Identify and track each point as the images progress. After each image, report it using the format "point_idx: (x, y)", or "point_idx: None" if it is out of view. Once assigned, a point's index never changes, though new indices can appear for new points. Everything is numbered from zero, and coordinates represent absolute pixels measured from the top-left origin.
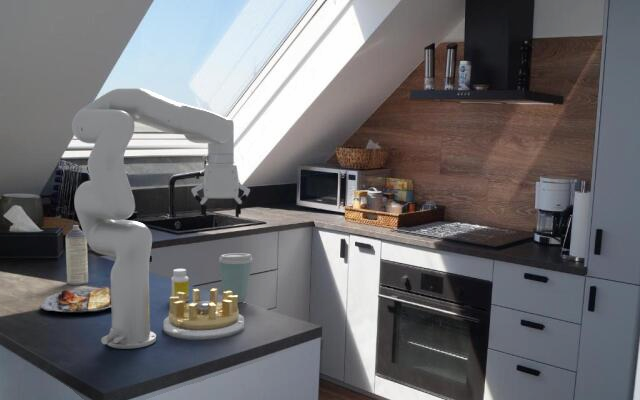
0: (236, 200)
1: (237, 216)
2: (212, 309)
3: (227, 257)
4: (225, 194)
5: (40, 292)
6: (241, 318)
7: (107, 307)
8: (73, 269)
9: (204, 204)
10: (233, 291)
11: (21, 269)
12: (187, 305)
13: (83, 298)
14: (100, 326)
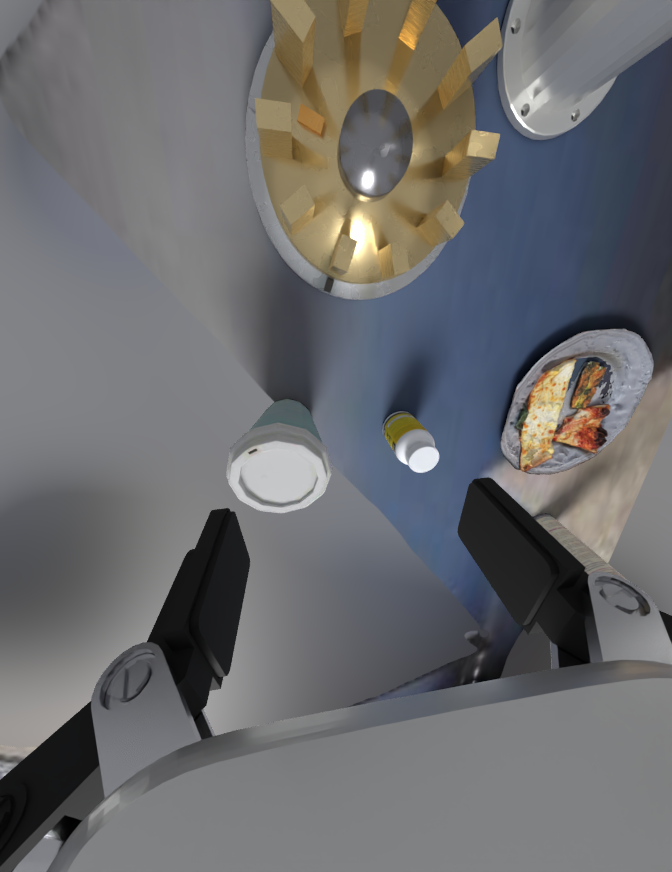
0: (172, 701)
1: (221, 510)
2: None
3: (305, 445)
4: (375, 849)
5: (600, 481)
6: (255, 166)
7: (551, 351)
8: (570, 534)
9: (571, 577)
10: (289, 404)
11: None
12: (412, 244)
13: (563, 432)
14: (582, 239)
